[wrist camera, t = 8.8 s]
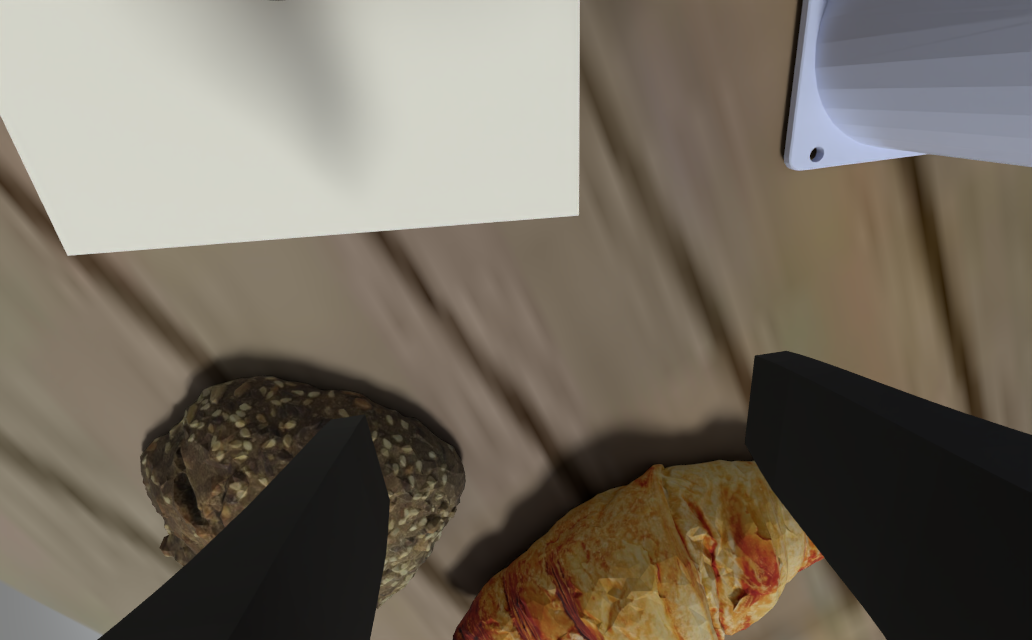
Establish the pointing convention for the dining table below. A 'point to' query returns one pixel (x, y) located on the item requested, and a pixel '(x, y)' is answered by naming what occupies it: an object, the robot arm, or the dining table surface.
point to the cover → (290, 115)
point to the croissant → (651, 562)
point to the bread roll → (273, 444)
